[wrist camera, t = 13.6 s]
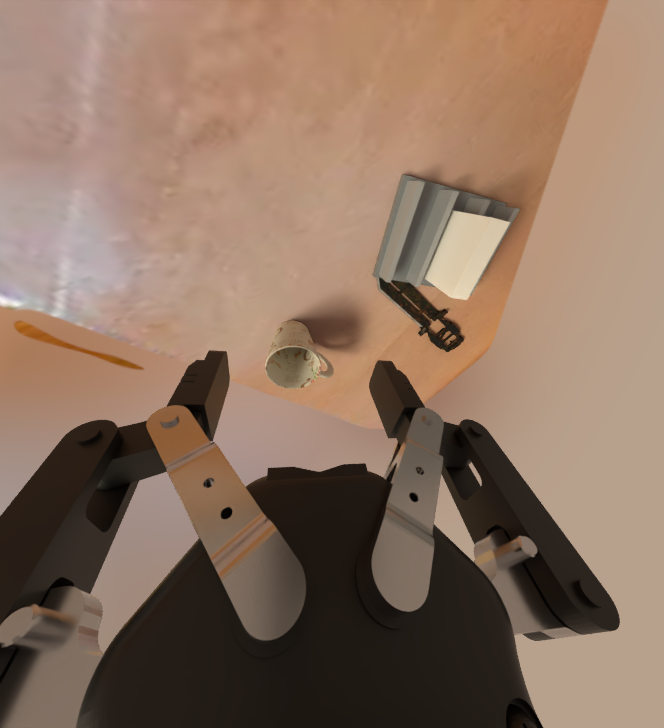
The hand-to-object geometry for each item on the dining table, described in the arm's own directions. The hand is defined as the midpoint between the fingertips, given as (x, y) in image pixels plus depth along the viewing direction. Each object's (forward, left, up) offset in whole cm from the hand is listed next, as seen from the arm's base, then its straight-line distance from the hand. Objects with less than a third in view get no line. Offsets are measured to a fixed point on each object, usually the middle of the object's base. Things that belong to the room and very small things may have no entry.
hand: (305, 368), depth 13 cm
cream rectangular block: (-5, +21, -27) cm, 34 cm away
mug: (+15, +3, -28) cm, 32 cm away
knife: (+7, +24, -28) cm, 38 cm away
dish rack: (-5, +21, -28) cm, 35 cm away
